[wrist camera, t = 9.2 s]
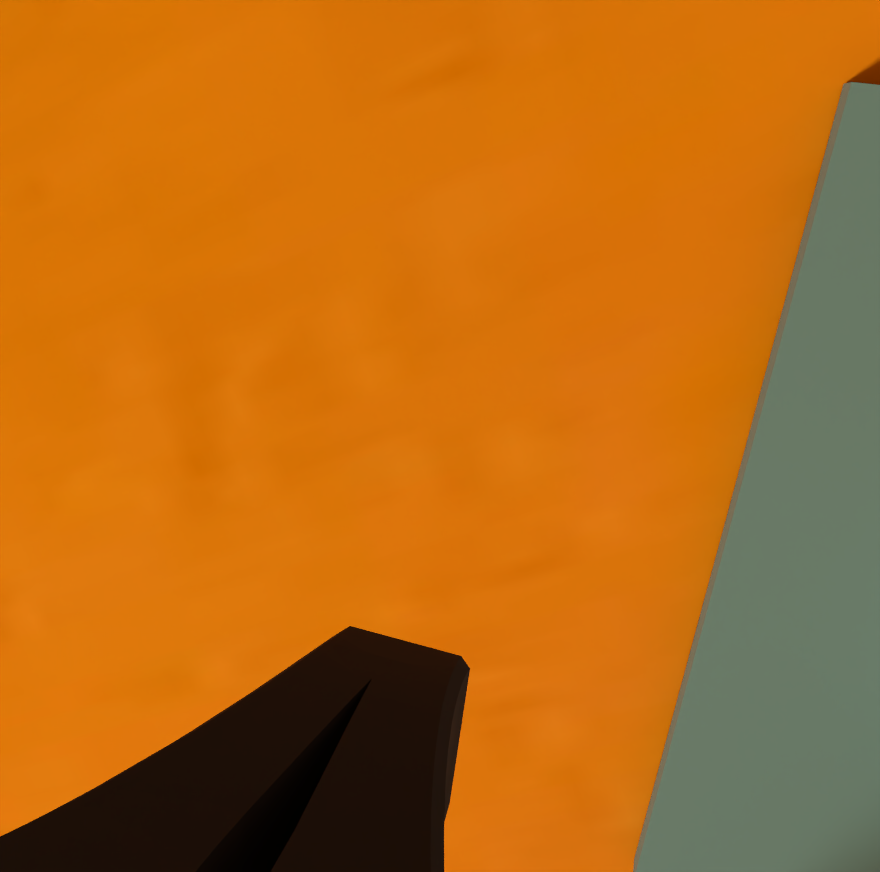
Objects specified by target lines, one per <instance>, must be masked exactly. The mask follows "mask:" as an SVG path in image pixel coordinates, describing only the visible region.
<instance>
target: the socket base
mask: <svg viewBox="0 0 880 872" xmlns="http://www.w3.org/2000/svg"><path fill="white" fill-rule="evenodd" d="M633 872H880V85H876V84H866V83H857V82H849V83H845V84H844V85H843V88H842V92H841V96H840V100H839V103H838V107H837V111H836V114H835V118H834V122H833V126H832V129H831V133H830V137H829V140H828V144H827V148H826V151H825V155H824V159H823V163H822V166H821V170H820V174H819V177H818V181H817V185H816V188H815V192H814V196H813V200H812V203H811V207H810V211H809V214H808V218H807V222H806V225H805V229H804V233H803V237H802V240H801V244H800V248H799V251H798V255H797V259H796V263H795V266H794V270H793V274H792V277H791V281H790V285H789V288H788V292H787V296H786V300H785V303H784V307H783V311H782V314H781V318H780V322H779V325H778V329H777V333H776V337H775V340H774V344H773V348H772V351H771V355H770V359H769V362H768V366H767V370H766V374H765V377H764V381H763V385H762V388H761V392H760V396H759V400H758V403H757V407H756V411H755V414H754V418H753V422H752V425H751V429H750V433H749V437H748V440H747V444H746V448H745V451H744V455H743V459H742V462H741V466H740V470H739V474H738V477H737V481H736V485H735V488H734V492H733V496H732V499H731V503H730V507H729V511H728V514H727V518H726V522H725V525H724V529H723V533H722V537H721V540H720V544H719V548H718V551H717V555H716V559H715V562H714V566H713V570H712V574H711V577H710V581H709V585H708V588H707V592H706V596H705V599H704V603H703V607H702V611H701V614H700V618H699V622H698V625H697V629H696V633H695V636H694V640H693V644H692V648H691V651H690V655H689V659H688V662H687V666H686V670H685V674H684V677H683V681H682V685H681V688H680V692H679V696H678V699H677V703H676V707H675V711H674V714H673V718H672V722H671V725H670V729H669V733H668V736H667V740H666V744H665V748H664V751H663V755H662V759H661V762H660V766H659V770H658V773H657V777H656V781H655V785H654V788H653V792H652V796H651V799H650V803H649V807H648V811H647V814H646V818H645V822H644V825H643V829H642V833H641V836H640V840H639V844H638V848H637V851H636V855H635V859H634V870H633Z"/></svg>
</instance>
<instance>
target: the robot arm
mask: <svg viewBox="0 0 880 872" xmlns="http://www.w3.org/2000/svg"><path fill="white" fill-rule="evenodd" d="M469 671H470V668H469V667H468V665H467V664H466V662H465V661H464V660H463V658H462V657H461V656H459V655H455V654H451V653H448V652H444V651H440V650H437V649H433V648H429V647H426V646H422V645H418V644H414V643H411V642H407V641H403V640H400V639H396V638H392V637H388V636H385V635H381V634H377V633H374V632H370V631H366V630H363V629H359V628H355V627H351V626H349V627H348V628H346V629H344V630H343V631H341V632H339V633H338V634H336V635H335V636H333V637H332V638H330V639H329V640H327V641H326V642H324V643H323V644H321V645H320V646H319V647H317V648H316V649H314V650H313V651H311V652H310V653H308V654H307V655H306V656H304V657H303V658H301V659H300V660H298V661H297V662H295V663H294V664H292V665H291V666H290V667H288V668H287V669H285V670H284V671H282V672H281V673H279V674H278V675H276V676H275V677H273V678H272V679H271V680H269V681H268V682H266V683H265V684H263V685H262V686H260V687H259V688H257V689H256V690H254V691H253V692H251V693H250V694H248V695H247V696H245V697H244V698H242V699H241V700H239V701H237V702H236V703H234V704H233V705H231V706H230V707H228V708H227V709H225V710H223V711H222V712H220V713H219V714H217V715H216V716H214V717H213V718H211V719H210V720H208V721H206V722H205V723H203V724H202V725H200V726H199V727H197V728H196V729H194V730H192V731H191V732H189V733H188V734H186V735H184V736H183V737H181V738H180V739H178V740H176V741H175V742H173V743H171V744H170V745H168V746H166V747H165V748H163V749H161V750H159V751H158V752H156V753H154V754H152V755H151V756H149V757H147V758H146V759H144V760H142V761H140V762H139V763H137V764H135V765H134V766H132V767H130V768H128V769H127V770H125V771H123V772H121V773H120V774H118V775H116V776H115V777H113V778H111V779H109V780H108V781H106V782H104V783H103V784H101V785H99V786H97V787H96V788H94V789H92V790H90V791H88V792H86V793H85V794H83V795H81V796H79V797H77V798H75V799H73V800H72V801H70V802H68V803H66V804H64V805H62V806H60V807H58V808H57V809H55V810H53V811H51V812H49V813H47V814H45V815H43V816H41V817H39V818H37V819H35V820H33V821H31V822H29V823H27V824H25V825H23V826H21V827H19V828H17V829H15V830H13V831H11V832H9V833H7V834H5V835H3V836H1V837H0V872H444V821H445V817H446V814H447V810H448V806H449V803H450V796H451V790H452V783H453V776H454V770H455V763H456V757H457V750H458V743H459V737H460V730H461V724H462V717H463V710H464V704H465V697H466V691H467V684H468V677H469Z"/></svg>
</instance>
